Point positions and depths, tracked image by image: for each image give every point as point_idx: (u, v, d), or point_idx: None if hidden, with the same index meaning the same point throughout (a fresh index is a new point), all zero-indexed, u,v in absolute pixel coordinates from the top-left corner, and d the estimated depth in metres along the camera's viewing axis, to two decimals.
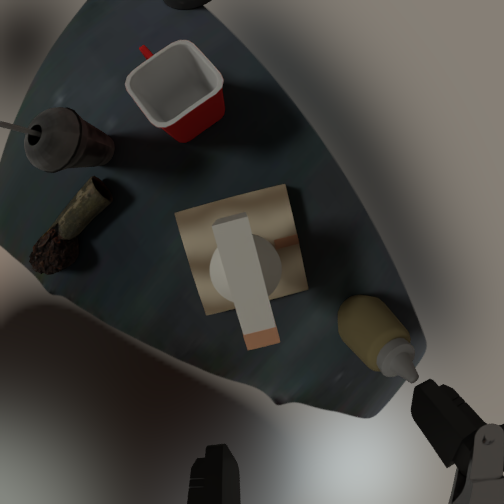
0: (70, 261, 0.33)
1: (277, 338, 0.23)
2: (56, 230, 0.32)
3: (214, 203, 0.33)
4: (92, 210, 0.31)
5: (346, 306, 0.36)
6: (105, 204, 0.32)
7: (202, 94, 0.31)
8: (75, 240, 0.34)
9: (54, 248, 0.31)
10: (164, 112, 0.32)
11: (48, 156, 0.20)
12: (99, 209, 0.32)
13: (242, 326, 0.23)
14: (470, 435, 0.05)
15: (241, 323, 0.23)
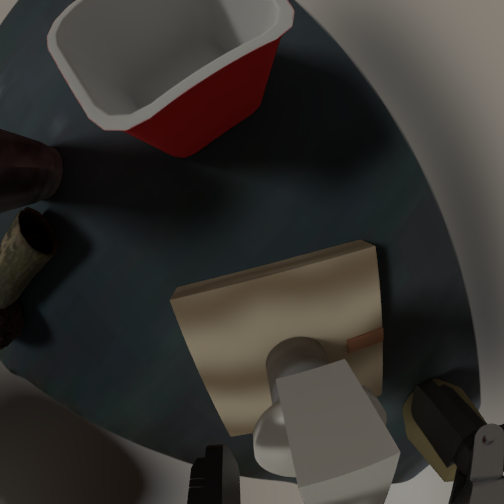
0: (11, 337, 0.17)
1: None
2: None
3: (246, 284, 0.17)
4: (23, 271, 0.15)
5: None
6: (42, 261, 0.16)
7: None
8: (14, 307, 0.18)
9: None
10: (145, 99, 0.16)
11: None
12: (35, 268, 0.16)
13: None
14: (470, 435, 0.05)
15: None
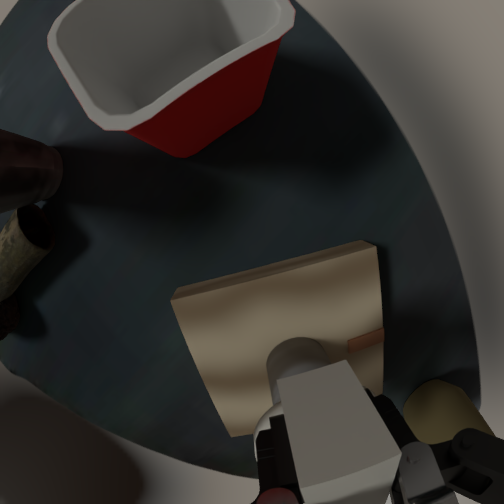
0: (7, 331, 0.17)
1: None
2: None
3: (247, 284, 0.17)
4: (20, 264, 0.15)
5: (424, 405, 0.20)
6: (39, 255, 0.16)
7: None
8: (11, 300, 0.17)
9: None
10: (146, 100, 0.16)
11: None
12: (32, 262, 0.16)
13: None
14: None
15: None
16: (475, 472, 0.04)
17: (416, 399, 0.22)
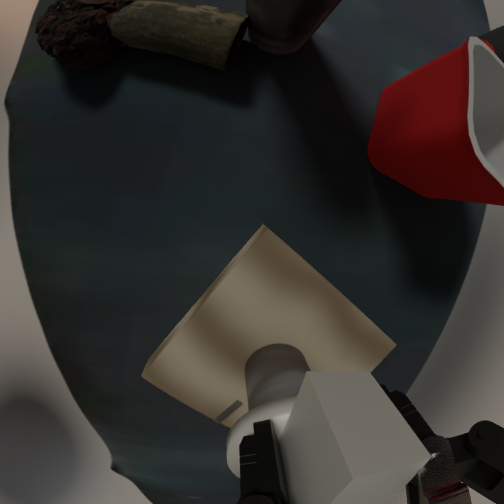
0: (74, 61, 0.12)
1: None
2: (119, 7, 0.11)
3: (325, 282, 0.17)
4: (191, 41, 0.13)
5: None
6: (214, 59, 0.14)
7: None
8: (115, 48, 0.14)
9: (84, 21, 0.10)
10: None
11: None
12: (198, 53, 0.13)
13: None
14: None
15: None
16: (488, 467, 0.04)
17: None
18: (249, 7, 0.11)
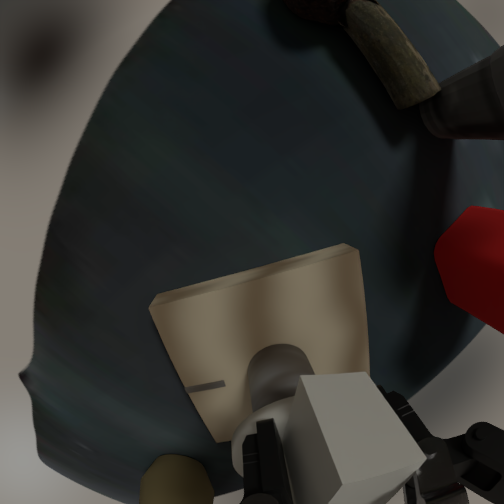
0: None
1: None
2: None
3: (364, 318, 0.18)
4: (401, 72, 0.14)
5: (196, 477, 0.20)
6: (404, 97, 0.15)
7: None
8: (334, 20, 0.14)
9: None
10: None
11: None
12: (397, 84, 0.15)
13: None
14: None
15: None
16: (485, 468, 0.04)
17: (191, 466, 0.22)
18: (448, 89, 0.13)
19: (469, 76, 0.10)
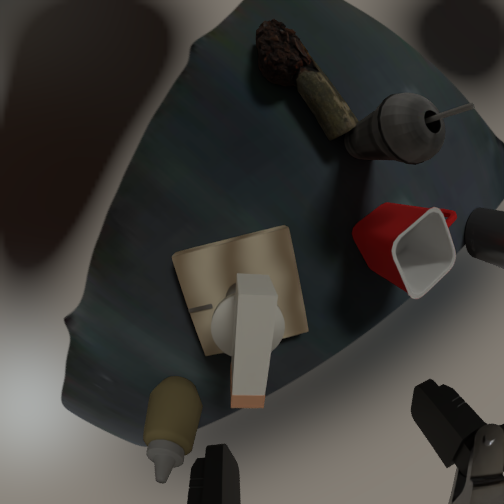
0: (268, 73, 0.27)
1: (262, 404, 0.22)
2: (309, 66, 0.27)
3: (295, 269, 0.33)
4: (327, 118, 0.28)
5: (190, 389, 0.35)
6: (330, 134, 0.30)
7: None
8: (290, 84, 0.29)
9: (290, 59, 0.26)
10: None
11: (405, 129, 0.19)
12: (326, 126, 0.29)
13: (233, 388, 0.21)
14: (470, 435, 0.05)
15: (233, 385, 0.21)
16: None
17: (187, 383, 0.37)
18: (356, 129, 0.28)
19: (365, 121, 0.25)
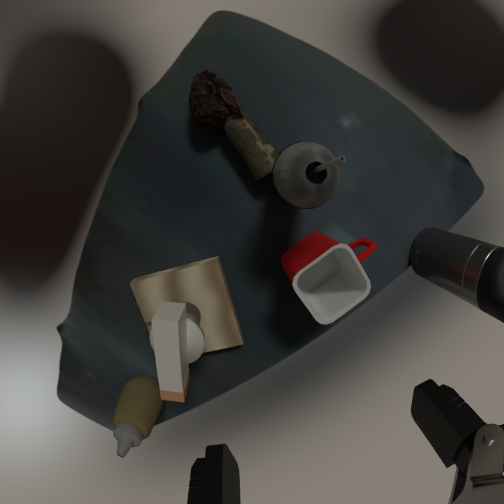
0: (200, 125, 0.34)
1: (182, 399, 0.29)
2: (236, 113, 0.33)
3: (226, 293, 0.40)
4: (251, 162, 0.35)
5: (152, 386, 0.42)
6: (255, 175, 0.36)
7: (323, 276, 0.42)
8: (221, 132, 0.36)
9: (216, 111, 0.32)
10: None
11: (288, 184, 0.25)
12: (250, 168, 0.36)
13: (160, 384, 0.28)
14: (470, 435, 0.05)
15: (159, 382, 0.28)
16: None
17: (151, 381, 0.44)
18: None
19: None
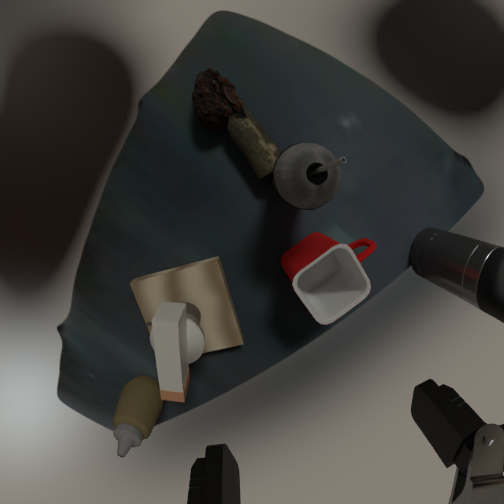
0: (203, 123, 0.34)
1: (182, 399, 0.29)
2: (239, 112, 0.33)
3: (226, 293, 0.40)
4: (253, 161, 0.35)
5: (152, 386, 0.42)
6: (257, 174, 0.36)
7: (323, 276, 0.42)
8: (224, 130, 0.35)
9: (219, 109, 0.32)
10: None
11: (289, 184, 0.25)
12: (253, 167, 0.36)
13: (160, 384, 0.28)
14: (470, 435, 0.05)
15: (159, 383, 0.28)
16: None
17: (152, 381, 0.44)
18: None
19: None
